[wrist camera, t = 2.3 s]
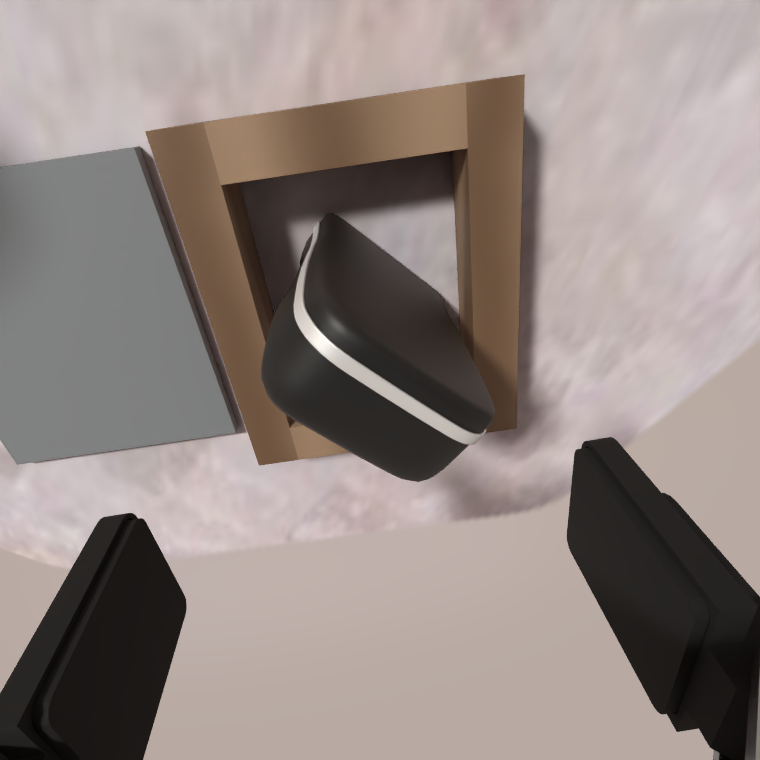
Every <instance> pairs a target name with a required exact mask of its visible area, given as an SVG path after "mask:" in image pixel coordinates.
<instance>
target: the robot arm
mask: <svg viewBox="0 0 760 760" xmlns="http://www.w3.org/2000/svg"><path fill="white" fill-rule="evenodd" d="M567 541H568V546H569V549H570V551H571V553H572V555H573V557H574V559H575V561H576V563H577V565H578V566H579V568H580V570H581V572H582V574H583V576H584V578H585V579H586V581H587V583H588V585H589V587H590V589H591V591H592V593H593V594H594V596H595V598H596V600H597V602H598V604H599V606H600V607H601V609H602V611H603V613H604V615H605V617H606V619H607V620H608V622H609V624H610V626H611V628H612V630H613V632H614V633H615V635H616V637H617V639H618V641H619V643H620V645H621V647H622V648H623V650H624V652H625V654H626V656H627V658H628V660H629V662H630V663H631V665H632V667H633V669H634V671H635V673H636V674H637V676H638V678H639V680H640V682H641V684H642V686H643V688H644V689H645V691H646V693H647V695H648V697H649V699H650V701H651V703H652V704H653V706H654V708H655V709H656V710H657V711H658V712H659V713H660V714H667V715H668V717H669V718H670V720H671V722H672V724H673V726H674V727H675V729H676V731H677V732H679V731H685V730H692V729H698V728H699V729H700V731H701V733H702V735H703V736H704V738H705V740H706V741H707V743H708V745H709V746H710V748H712V749H713V750H714V755H713V760H760V597H759V595H757V593H756V592H755V591H754V590H753V589H752V587H751V586H750V585H749V584H748V583H747V582H746V581H745V580H744V578H743V577H741V575H740V574H739V573H738V571H737V570H736V569H735V568H734V567H733V566H732V565H731V563H730V562H729V561H728V560H727V559H726V558H725V557H724V555H723V554H722V553H721V552H720V551H719V550H718V549H717V548H716V546H714V544H713V543H712V542H711V541H710V539H709V538H708V537H707V536H706V535H705V534H704V533H703V532H702V530H701V529H700V528H699V527H698V526H697V525H696V523H695V522H694V521H693V520H692V519H691V518H690V516H689V515H688V514H687V513H686V512H685V511H684V510H683V509H682V507H681V506H680V505H679V504H678V503H677V502H676V501H675V500H674V499H673V498H672V497H671V496H669V495H667V494H665V493H661V492H660V491H659V490H658V488H657V487H656V486H655V485H654V484H653V483H652V481H651V480H650V479H649V478H648V477H647V476H646V475H645V473H644V472H643V471H642V470H641V469H640V467H639V466H638V465H637V464H636V463H635V462H634V460H633V459H632V458H631V457H630V456H629V454H628V453H627V452H626V451H625V450H624V449H623V447H622V446H621V445H620V444H619V443H618V442H617V441H616V440H615V439H614V438H612V437H609V438H603V439H596V440H590V441H585V442H584V443H583V444H582V448H581V449H577V450H576V451H575V455H574V465H573V476H572V486H571V497H570V507H569V518H568V528H567ZM185 613H186V599H185V596H184V594H183V592H182V590H181V588H180V586H179V584H178V583H177V581H176V579H175V577H174V575H173V573H172V571H171V569H170V567H169V565H168V563H167V561H166V560H165V558H164V556H163V554H162V552H161V550H160V548H159V546H158V544H157V542H156V541H155V539H154V537H153V535H152V533H151V531H150V529H149V527H148V525H147V523H146V522H145V520H144V519H142V518H140V519H138V518H137V517H136V515H134V514H133V513H127V514H121V515H114V516H108V517H103V518H102V519H100V520H99V522H98V523H97V525H96V527H95V528H94V530H93V532H92V534H91V535H90V537H89V539H88V541H87V542H86V544H85V546H84V548H83V549H82V551H81V553H80V555H79V556H78V558H77V560H76V562H75V563H74V565H73V567H72V569H71V570H70V572H69V574H68V576H67V577H66V579H65V581H64V583H63V585H62V586H61V588H60V590H59V591H58V593H57V595H56V597H55V599H54V600H53V602H52V604H51V605H50V607H49V609H48V611H47V612H46V615H45V616H44V618H43V620H42V621H41V623H40V625H39V627H38V628H37V630H36V632H35V634H34V635H33V637H32V639H31V641H30V642H29V644H28V646H27V648H26V649H25V651H24V653H23V655H22V656H21V658H20V660H19V662H18V663H17V665H16V667H15V669H14V671H13V672H12V674H11V676H10V677H9V679H8V681H7V683H6V684H5V686H4V688H3V690H2V691H1V693H0V760H143V757H144V754H145V751H146V747H147V744H148V740H149V737H150V734H151V730H152V727H153V723H154V720H155V716H156V713H157V710H158V706H159V703H160V699H161V696H162V693H163V689H164V686H165V682H166V679H167V675H168V672H169V669H170V665H171V662H172V658H173V655H174V651H175V648H176V645H177V641H178V638H179V635H180V631H181V628H182V624H183V621H184V617H185Z"/></svg>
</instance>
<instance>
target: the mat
mask: <svg viewBox="0 0 760 760" xmlns="http://www.w3.org/2000/svg"><path fill="white" fill-rule="evenodd" d="M237 428H238V425H237V422H236V419H235V416H234V413H233V411H232V408H231V405H230V402H229V399H228V396H227V394H226V391H225V388H224V385H223V382H222V379H221V376H220V374H219V371H218V368H217V365H216V362H215V359H214V357H213V354H212V351H211V348H210V345H209V342H208V339H207V337H206V334H205V331H204V328H203V325H202V322H201V319H200V317H199V314H198V311H197V308H196V305H195V302H194V300H193V297H192V294H191V291H190V288H189V285H188V282H187V280H186V277H185V274H184V271H183V268H182V265H181V263H180V260H179V257H178V254H177V251H176V248H175V245H174V243H173V240H172V237H171V234H170V231H169V228H168V225H167V223H166V220H165V217H164V214H163V211H162V208H161V206H160V203H159V200H158V197H157V194H156V191H155V188H154V186H153V183H152V180H151V177H150V174H149V171H148V169H147V166H146V163H145V160H144V157H143V154H142V151H141V149H140V146H139V147H133V148H126V149H119V150H113V151H106V152H99V153H93V154H86V155H79V156H73V157H66V158H59V159H53V160H46V161H39V162H33V163H26V164H19V165H13V166H6V167H0V440H1V442H2V443H3V445H4V446H5V448H6V449H7V451H8V452H9V453H10V455H11V456H12V458H13V459H14V461H15V462H16V464H17V465H18V464H25V463H32V462H39V461H45V460H52V459H59V458H66V457H73V456H80V455H87V454H94V453H101V452H108V451H114V450H121V449H128V448H135V447H142V446H149V445H156V444H163V443H170V442H177V441H183V440H190V439H197V438H204V437H211V436H218V435H225V434H232V433H236V431H237Z"/></svg>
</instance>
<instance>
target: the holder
mask: <svg viewBox="0 0 760 760" xmlns="http://www.w3.org/2000/svg"><path fill="white" fill-rule="evenodd" d="M524 78H525V74H524V75H516V76H508V77H500V78H493V79H487V80H480V81H473V82H467V83H460V84H453V85H447V86H440V87H433V88H427V89H420V90H413V91H407V92H400V93H394V94H387V95H380V96H374V97H367V98H360V99H354V100H347V101H340V102H334V103H327V104H321V105H314V106H307V107H301V108H294V109H287V110H281V111H274V112H267V113H261V114H254V115H247V116H241V117H234V118H228V119H221V120H214V121H208V122H201V123H194V124H188V125H181V126H174V127H168V128H163V129H157V130H151V131H146V135H147V138H148V141H149V144H150V147H151V150H152V153H153V156H154V158H155V161H156V164H157V167H158V170H159V173H160V176H161V179H162V182H163V185H164V188H165V191H166V194H167V197H168V200H169V203H170V205H171V208H172V211H173V214H174V217H175V220H176V223H177V226H178V229H179V232H180V235H181V238H182V241H183V244H184V247H185V249H186V252H187V255H188V258H189V261H190V264H191V267H192V270H193V273H194V276H195V279H196V282H197V285H198V288H199V291H200V294H201V296H202V299H203V302H204V305H205V308H206V311H207V314H208V317H209V320H210V323H211V326H212V329H213V332H214V335H215V338H216V340H217V343H218V346H219V349H220V352H221V355H222V358H223V361H224V364H225V367H226V370H227V373H228V376H229V379H230V382H231V384H232V387H233V390H234V393H235V396H236V399H237V402H238V405H239V408H240V411H241V414H242V417H243V420H244V423H245V426H246V429H247V431H248V434H249V437H250V440H251V443H252V446H253V449H254V452H255V455H256V458H257V461H258V464H259V465H265V464H272V463H279V462H286V461H293V460H300V459H307V458H314V457H321V456H328V455H335V454H342V453H349V451H347V450H345V449H344V448H342V447H340V446H338V445H337V444H335V443H333V442H331V441H330V440H328V439H326V438H324V437H323V436H321V435H319V434H317V433H316V432H314V431H312V430H310V429H309V428H307V427H305V426H303V425H302V424H300V423H298V422H297V421H295V420H293V419H292V418H290V417H289V416H287V415H286V414H284V413H283V412H282V411H281V410H280V409H278V408H277V407H276V406H275V405H274V404H273V402H272V401H271V400H270V398H269V397H268V395H267V393H266V390H265V387H264V384H263V381H262V379H261V367H262V359H263V353H264V349H265V344H266V340H267V336H268V332H269V328H270V325H271V322H272V319H273V316H274V313H273V309H272V306H271V302H270V298H269V294H268V290H267V287H266V283H265V279H264V275H263V271H262V268H261V264H260V260H259V256H258V252H257V249H256V245H255V241H254V237H253V233H252V230H251V226H250V222H249V218H248V214H247V211H246V207H245V203H244V199H243V195H242V192H241V188H240V184H239V182H245V181H252V180H259V179H265V178H272V177H279V176H285V175H292V174H299V173H306V172H312V171H319V170H326V169H332V168H339V167H346V166H352V165H359V164H366V163H372V162H379V161H386V160H392V159H399V158H406V157H413V156H419V155H426V154H433V153H439V152H446V151H452V161H453V183H454V205H455V226H456V248H457V270H458V292H459V313H460V335H461V338H462V340H463V342H464V344H465V346H466V347H467V349H468V351H469V353H470V355H471V357H472V359H473V361H474V363H475V365H476V367H477V369H478V371H479V373H480V375H481V377H482V379H483V382H484V384H485V386H486V388H487V390H488V392H489V394H490V397H491V399H492V402H493V405H494V408H495V416H494V419H493V422H492V423H491V424H490V425H489V426H488V427H487V428H486V433H487V432H494V431H501V430H508V429H515V428H516V421H517V378H518V335H519V292H520V249H521V207H522V164H523V121H524Z"/></svg>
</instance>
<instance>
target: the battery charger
mask: <svg viewBox="0 0 760 760" xmlns="http://www.w3.org/2000/svg"><path fill="white" fill-rule="evenodd" d="M261 379H262V381H263V384H264V387H265V390H266V393H267V395H268V397H269V398H270V400H271V401H272V402H273V404H274V405H275V406H276V407H277V408H278V409H280V410H281V411H282V412H283V413H284V414H286V415H287V416H289V417H290V418H292V419H293V420H295V421H297V422H298V423H300V424H302V425H303V426H305V427H307V428H309V429H310V430H312V431H314V432H316V433H317V434H319V435H321V436H323V437H324V438H326V439H328V440H330V441H331V442H333V443H335V444H337V445H338V446H340V447H342V448H344V449H345V450H347V451H349V452H351V453H353V454H355V455H357V456H358V457H360V458H362V459H364V460H366V461H368V462H370V463H371V464H373V465H375V466H377V467H379V468H381V469H383V470H385V471H386V472H388V473H390V474H392V475H394V476H397V477H399V478H401V479H405V480H410V481H417V482H419V481H423V480H427V479H429V478H431V477H433V476H435V475H436V474H437V473H439V472H440V471H442V470H443V469H444V468H445V467H446V466H447V465H448V464H449V463H451V462H452V461H453V460H454V459H455V458H456V457H457V456H458V455H459V454H460V453H461V452H462V451H463V450H464V449H465V448H466V447H467V446H468V445H472V444H475V443H476V442H477V441H478V440H479V439H480V438H481V437H482V436H483V435H484V434H485V433H486V428H487V427H488V426H489V425H490V424H491V423H492V422H493V419H494V416H495V408H494V405H493V402H492V399H491V397H490V394H489V392H488V390H487V388H486V386H485V384H484V382H483V379H482V377H481V375H480V373H479V371H478V369H477V367H476V365H475V363H474V361H473V359H472V357H471V355H470V353H469V351H468V349H467V347H466V346H465V344H464V342H463V340H462V338H461V336H460V334H459V333H458V331H457V329H456V327H455V325H454V324H453V322H452V320H451V318H450V316H449V314H448V312H447V310H446V308H445V306H444V304H443V302H442V300H441V297H440V295H439V293H438V292H437V291H436V290H434V289H433V288H432V287H430V286H429V285H428V284H427V283H425V282H424V281H423V280H421V279H420V278H419V277H418V276H416V275H415V274H414V273H412V272H411V271H410V270H408V269H407V268H406V267H405V266H403V265H402V264H401V263H399V262H398V261H397V260H395V259H394V258H393V257H392V256H390V255H389V254H388V253H386V252H385V251H384V250H382V249H381V248H380V247H378V246H377V245H376V244H374V243H373V242H372V241H371V240H369V239H368V238H367V237H365V236H364V235H363V234H361V233H360V232H359V231H357V230H356V229H355V228H353V227H352V226H351V225H349V224H348V223H347V222H346V221H344V220H343V219H342V218H340V217H339V216H338V215H336V214H334V213H328V214H326V215H325V216H324V217H323V219H322V220H321V221H318V222H317V224H316V225H315V227H314V228H313V233H312V235H311V236H310V238H309V239H308V241H307V242H306V245H305V248H304V250H303V252H302V256H301V259H300V268H299V271H298V273H297V275H296V278H295V280H294V283H293V285H292V286H291V288H290V289H289V291H288V292H287V293H286V295H285V296H284V298H283V299H282V301H281V302H280V304H279V306H278V308H277V310H276V312H275V314H274V316H273V319H272V322H271V325H270V328H269V332H268V336H267V340H266V344H265V349H264V353H263V359H262V367H261Z"/></svg>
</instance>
